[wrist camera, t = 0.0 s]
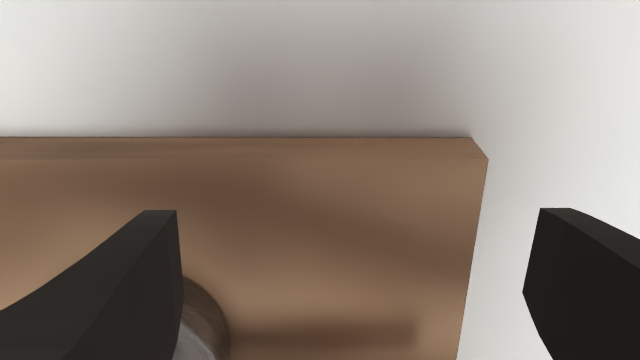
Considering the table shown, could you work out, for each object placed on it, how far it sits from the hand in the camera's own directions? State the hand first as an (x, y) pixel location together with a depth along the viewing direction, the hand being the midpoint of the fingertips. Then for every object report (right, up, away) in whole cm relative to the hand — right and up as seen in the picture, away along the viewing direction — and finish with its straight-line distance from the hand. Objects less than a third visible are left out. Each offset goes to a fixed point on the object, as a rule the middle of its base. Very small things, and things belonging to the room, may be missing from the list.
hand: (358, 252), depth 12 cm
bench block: (-5, -6, +14) cm, 15 cm away
